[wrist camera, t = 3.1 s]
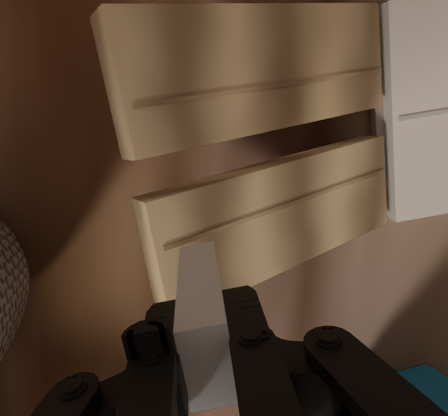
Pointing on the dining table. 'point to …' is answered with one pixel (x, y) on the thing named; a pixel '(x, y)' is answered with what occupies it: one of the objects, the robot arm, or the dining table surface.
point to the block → (429, 383)
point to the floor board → (414, 107)
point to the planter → (11, 286)
